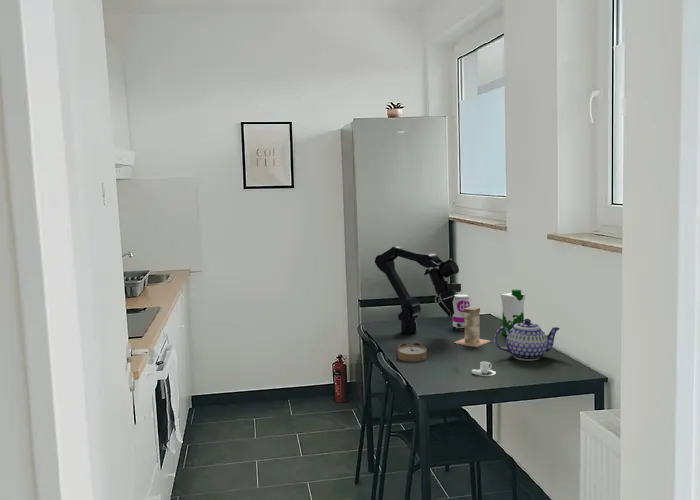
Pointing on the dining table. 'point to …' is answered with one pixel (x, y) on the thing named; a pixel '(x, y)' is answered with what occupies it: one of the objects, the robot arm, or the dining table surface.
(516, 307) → the milk carton
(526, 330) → the teapot
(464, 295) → the supplement can
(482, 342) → the terracotta tile
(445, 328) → the dining table surface
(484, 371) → the teacup and saucer
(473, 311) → the ash post
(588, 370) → the dining table surface
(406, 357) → the alarm clock
